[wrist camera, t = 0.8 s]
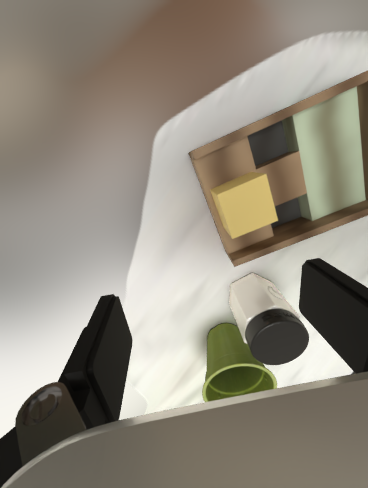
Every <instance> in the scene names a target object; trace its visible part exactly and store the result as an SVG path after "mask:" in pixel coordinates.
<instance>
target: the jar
mask: <svg viewBox="0 0 368 488" xmlns="http://www.w3.org/2000/svg"><path fill="white" fill-rule="evenodd" d="M229 305H230V308H231V310H232V313H233V315H234V318H235V320H236V323H237V325H238V328H239V331H240V333H241V336H242V338H243V341H244V343H246V344H248V346H249V349H250V351H251V354H252V355H253V357H254V358H255V359H256V360H257V361H259V362H261V363H263V364H267V365H280V364H284V363H288V362H290V361H292V360H294V359H296V358H297V357H298V356H300V355H301V354H302V353H303V352H304V350H305V349H306V347H307V345H308V342H309V334H308V331H307V330H306V328H305V327H304V325H303V323H302V322H301V321H300V320H299V317H300V316H299V315H298V314H297V312H296V311H295V310H294V309H293V307H292V306H291V305H290V304H289V303H288V301H287V300H286V299H285V298H284V296H283V295H282V294H281V293H280V292H279V290H278V289H277V288H276V287H275V285H274V284H273V283H272V282H271V281H269V280H267V279H264V278H262V277H260V276H258V275H256V274H254V273H250V274H249V275H247V276H245V277H243V278H241V279H239V280H237V281H236V282H234V283H232V284H230V298H229Z"/></svg>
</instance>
